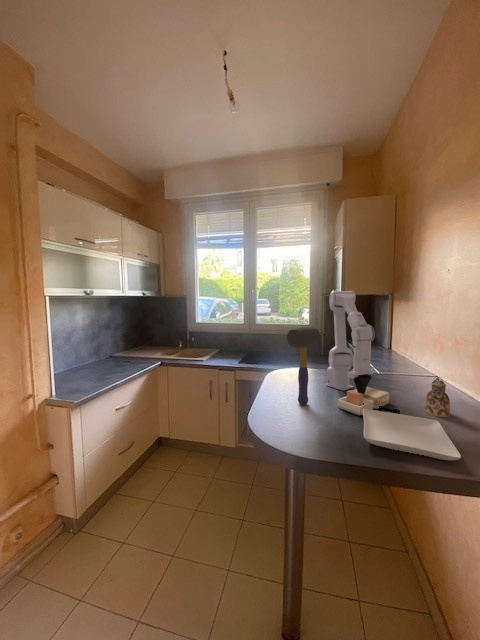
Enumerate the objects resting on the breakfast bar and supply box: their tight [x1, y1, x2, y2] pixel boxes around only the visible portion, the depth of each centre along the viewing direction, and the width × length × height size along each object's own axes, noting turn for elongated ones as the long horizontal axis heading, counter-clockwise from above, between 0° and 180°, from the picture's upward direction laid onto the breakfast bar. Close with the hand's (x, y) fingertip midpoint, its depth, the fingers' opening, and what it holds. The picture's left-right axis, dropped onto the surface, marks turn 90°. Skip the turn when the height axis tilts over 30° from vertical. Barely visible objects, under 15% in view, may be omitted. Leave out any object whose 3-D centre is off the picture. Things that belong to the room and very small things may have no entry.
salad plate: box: [362, 409, 462, 461], centre depth 74 cm, size 21×21×3 cm
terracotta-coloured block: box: [346, 389, 363, 407], centre depth 95 cm, size 5×5×2 cm
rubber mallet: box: [286, 326, 321, 406], centre depth 98 cm, size 12×8×30 cm, turn 128°
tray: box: [336, 395, 374, 417], centre depth 95 cm, size 9×9×3 cm
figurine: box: [423, 377, 451, 418], centre depth 90 cm, size 7×7×12 cm
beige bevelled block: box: [351, 386, 390, 409], centre depth 101 cm, size 10×9×4 cm
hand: (361, 393), depth 97 cm, fingers closed
